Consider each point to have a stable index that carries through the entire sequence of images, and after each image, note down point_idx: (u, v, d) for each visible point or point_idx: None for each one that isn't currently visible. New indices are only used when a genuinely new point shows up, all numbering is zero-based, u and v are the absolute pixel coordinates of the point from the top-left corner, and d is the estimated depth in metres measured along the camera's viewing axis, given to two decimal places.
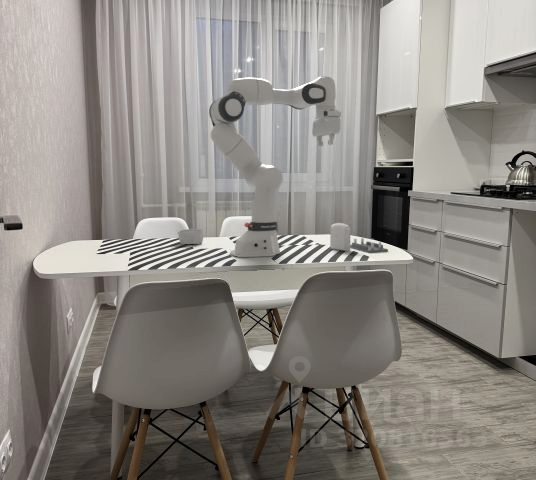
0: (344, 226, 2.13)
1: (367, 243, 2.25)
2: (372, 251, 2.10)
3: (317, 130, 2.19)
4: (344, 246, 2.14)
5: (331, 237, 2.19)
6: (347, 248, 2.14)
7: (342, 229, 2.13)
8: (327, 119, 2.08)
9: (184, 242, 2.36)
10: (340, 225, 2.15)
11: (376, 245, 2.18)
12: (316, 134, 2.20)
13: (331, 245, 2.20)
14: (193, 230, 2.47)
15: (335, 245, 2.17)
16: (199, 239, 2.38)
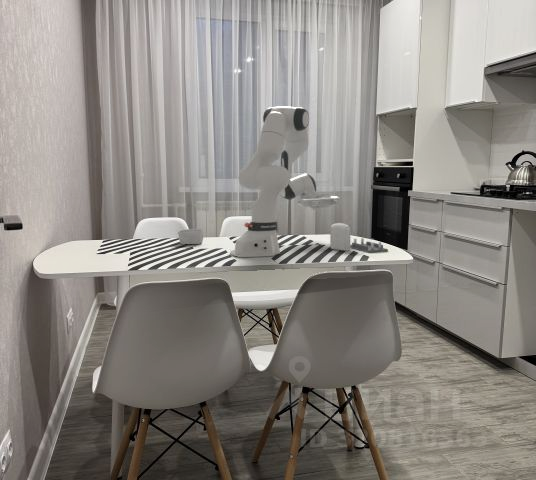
0: (344, 226, 2.13)
1: (367, 243, 2.25)
2: (372, 251, 2.10)
3: None
4: (344, 246, 2.14)
5: (331, 237, 2.19)
6: (347, 248, 2.14)
7: (342, 229, 2.13)
8: (327, 196, 2.39)
9: (184, 242, 2.36)
10: (340, 225, 2.15)
11: (376, 245, 2.18)
12: (312, 199, 2.30)
13: (331, 245, 2.20)
14: (193, 230, 2.47)
15: (335, 245, 2.17)
16: (199, 239, 2.38)
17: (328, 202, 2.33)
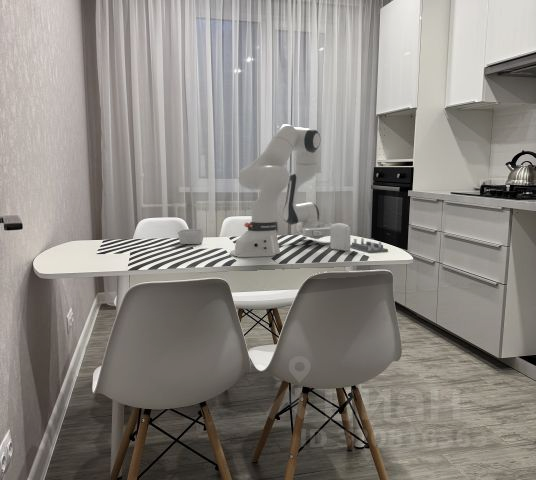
0: (344, 226, 2.13)
1: (367, 243, 2.25)
2: (372, 251, 2.10)
3: (313, 228, 2.32)
4: (344, 246, 2.14)
5: (331, 237, 2.19)
6: (347, 248, 2.14)
7: (342, 229, 2.13)
8: (329, 225, 2.39)
9: (184, 242, 2.36)
10: (340, 225, 2.15)
11: (376, 245, 2.18)
12: (313, 229, 2.29)
13: (331, 245, 2.20)
14: (193, 230, 2.47)
15: (335, 245, 2.17)
16: (199, 239, 2.38)
17: (329, 232, 2.33)
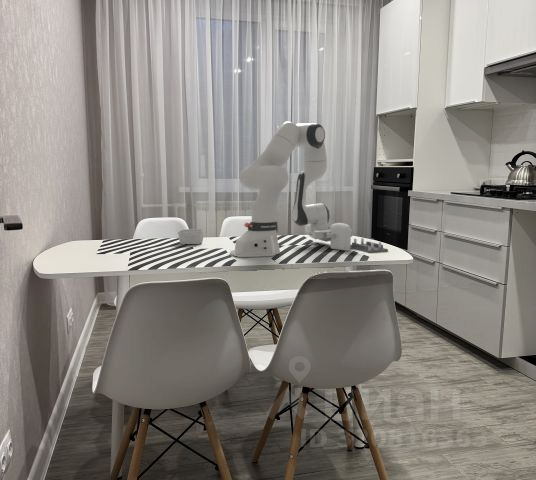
0: (344, 226, 2.13)
1: (367, 243, 2.25)
2: (372, 251, 2.10)
3: (323, 230, 2.22)
4: (344, 246, 2.14)
5: None
6: (347, 248, 2.14)
7: (343, 229, 2.13)
8: None
9: (184, 242, 2.36)
10: (340, 225, 2.15)
11: (376, 245, 2.18)
12: (324, 231, 2.20)
13: (331, 245, 2.20)
14: (193, 230, 2.47)
15: (335, 245, 2.17)
16: (199, 239, 2.38)
17: None
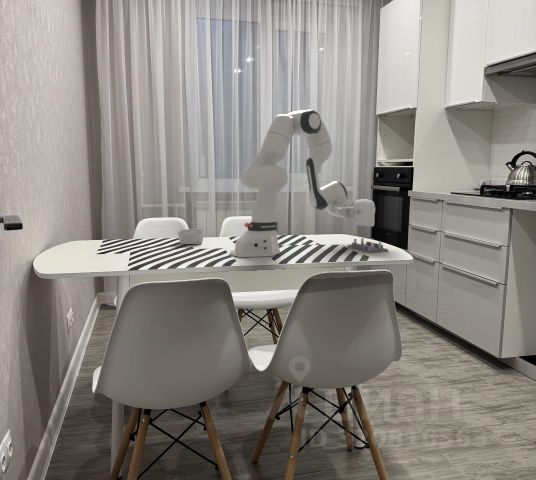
0: (368, 201, 2.13)
1: (367, 243, 2.25)
2: (372, 251, 2.10)
3: (346, 207, 2.22)
4: (368, 222, 2.13)
5: None
6: (371, 224, 2.14)
7: (367, 204, 2.13)
8: None
9: (184, 242, 2.36)
10: (364, 201, 2.14)
11: (376, 245, 2.18)
12: (347, 207, 2.19)
13: (355, 221, 2.19)
14: (193, 230, 2.47)
15: (359, 221, 2.17)
16: (199, 239, 2.38)
17: None
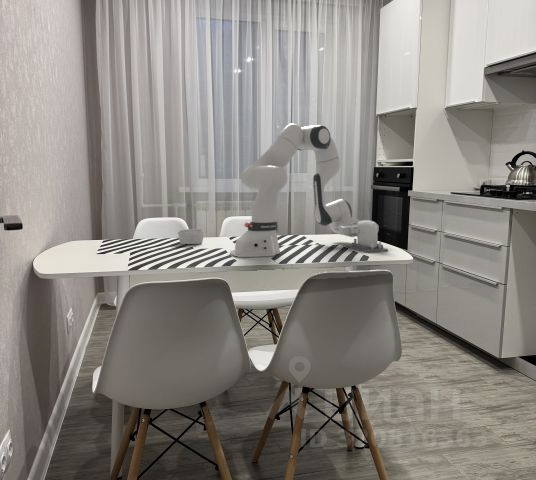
0: (371, 223, 2.14)
1: None
2: (372, 251, 2.10)
3: None
4: None
5: (358, 234, 2.20)
6: (374, 245, 2.15)
7: (369, 226, 2.14)
8: None
9: (184, 242, 2.36)
10: (367, 222, 2.15)
11: None
12: (351, 226, 2.20)
13: (358, 242, 2.21)
14: (193, 230, 2.47)
15: (362, 242, 2.18)
16: (199, 239, 2.38)
17: None
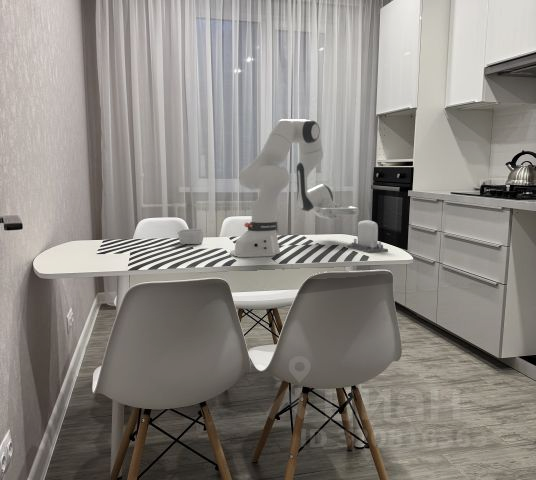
0: (371, 223, 2.14)
1: None
2: (372, 251, 2.10)
3: None
4: None
5: (358, 234, 2.20)
6: (374, 245, 2.15)
7: (370, 226, 2.14)
8: (346, 206, 2.41)
9: (184, 242, 2.36)
10: (367, 222, 2.15)
11: None
12: (331, 208, 2.32)
13: (358, 242, 2.21)
14: (193, 230, 2.47)
15: (362, 242, 2.18)
16: (199, 239, 2.38)
17: (347, 212, 2.35)
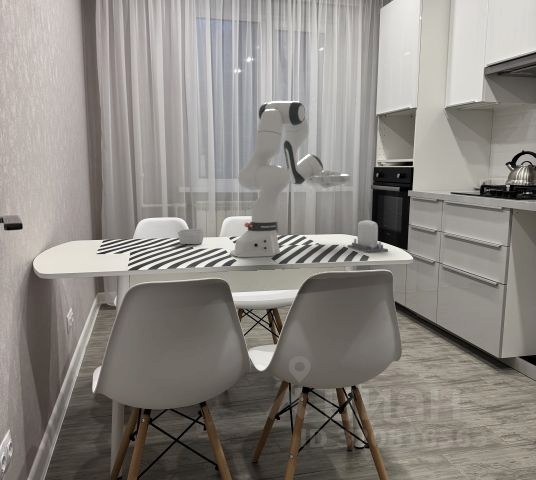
0: (371, 223, 2.14)
1: None
2: (372, 251, 2.10)
3: None
4: None
5: (358, 234, 2.20)
6: (374, 245, 2.15)
7: (370, 226, 2.14)
8: (338, 174, 2.41)
9: (184, 242, 2.36)
10: (367, 222, 2.15)
11: None
12: (323, 176, 2.32)
13: (358, 242, 2.21)
14: (193, 230, 2.47)
15: (362, 242, 2.18)
16: (199, 239, 2.38)
17: (339, 179, 2.35)
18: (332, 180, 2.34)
